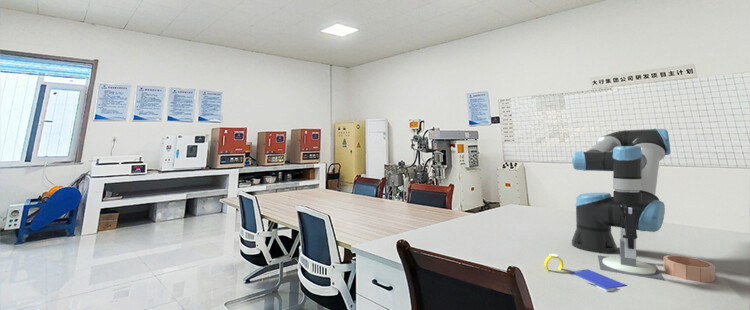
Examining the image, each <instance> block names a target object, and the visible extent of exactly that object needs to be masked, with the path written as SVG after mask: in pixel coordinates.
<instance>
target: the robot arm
mask: <svg viewBox="0 0 750 310" xmlns="http://www.w3.org/2000/svg"><path fill="white" fill-rule="evenodd" d="M670 155H671V145H670V138H669V131H668V130H667V129H665V128H653V129H651V128H650V129H649V128H648V129H630V130H627V129H626V130H624V129H623V130H619V131H613V132H611V133H608V134H606V135H603V136H601V137H600V138H599V139H598V140H597V141H596V143H595V144H594V145H593V146H592V147H590V148H589V149H588V150H586V151H575V152H574V153H573V154H572V158H571V162H572V167H573V169H574V170H576V171H584V172H585V171H590V172H591V171H594V172H596V171H597V172H613V175H612V188H613V190H614V191H612V193H613V194H611V193H610V192H589V193H588V192H587V193H580V194H578V195H577V196H576V198H575V199H576V200H575V201H576V202H575V216H576V224H575V225H576V229H575V231H574V234H573V237H572V239H571V246H572V247H574V248H575V249H578V250H582V251H585V252H590V253H595V254H596V253H597V254H613V253H614V254H615V253H617V251H618V247H617V244H616V241H615V238H614V236H613V233H612V228H613V227H615V228H620V229H619V230H620V231H619V233H620V234H619V235H620V236H619V240H620V239H625V258H632V259H636V260H637V239H638V235H637V231H640V232H651V233H656V232H658V231H660V230H661V228H662V225H663V223H664V221H665V220H664V218H665V211H666V208H665V207H666V206H665V203H664V202H663V201H662V200H660V199H659V197H658V195H656V192H657V191H656V190H657V183H658V176H659V167H660V161H662V160H663V159H664V158H665V157H666V156H670Z"/></svg>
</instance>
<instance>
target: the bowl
mask: <svg viewBox="0 0 750 310" xmlns="http://www.w3.org/2000/svg"><path fill="white" fill-rule="evenodd" d="M662 258H663V271H664V272H665V273H666V274H668V275H670V276H673V277H674V278H675V277H676V278H679V279H682V280H683V279H684V280H687V281H692V282H699V283H713V282H714V281H716V266H715V264H713V263H712V262H708V261H707V260H704V259H700V258H695V257H691V256H685V255H677V254H676V255H675V254H667V255H664V256H663V257H662Z"/></svg>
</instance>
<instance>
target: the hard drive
mask: <svg viewBox="0 0 750 310" xmlns="http://www.w3.org/2000/svg"><path fill="white" fill-rule="evenodd" d="M569 273H570V274H571V275H575V276H577V277H579V278H581V279H584V280H586V281H587V284H589V285H590V286H593V287H594V288H597V289H600V290H602V291H604V292H606V293H607V292H613V291H618V290H619V291H620V290H621V288H622V287H628V284H625V283H622V282H620V281H618V280H615V279H613V278H610V277H608V276H606V275H603V274H600V273H598V272H596V271H593V270H590V269H589V268H587V269H580V270H579V269H578V270H574V271H569ZM620 287H621V288H620Z"/></svg>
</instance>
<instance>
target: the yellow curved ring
mask: <svg viewBox="0 0 750 310" xmlns="http://www.w3.org/2000/svg"><path fill="white" fill-rule="evenodd" d="M551 259H558V261H559V266H558V268H557V269H558V270H559V271H562V270H563V269H564V261H563V259H562V258H561V257H559V254H556V253H549V254H548V256H546V257H545V259H544V263H543V265H544V268H545V270H546V271H547V272H548V273H550V272H551V270H550V269H549V267H548V263H549V261H550V260H551Z"/></svg>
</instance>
